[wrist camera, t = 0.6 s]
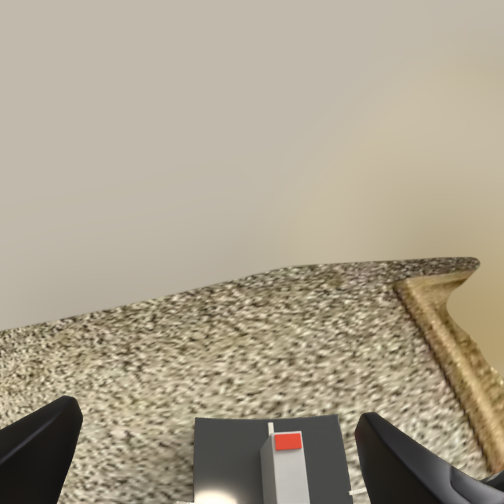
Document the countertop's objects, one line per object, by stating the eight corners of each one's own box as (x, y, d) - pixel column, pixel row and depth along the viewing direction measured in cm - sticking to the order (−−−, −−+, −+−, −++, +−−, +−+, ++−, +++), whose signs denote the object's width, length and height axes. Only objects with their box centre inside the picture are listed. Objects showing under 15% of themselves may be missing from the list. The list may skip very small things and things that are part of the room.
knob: (294, 556, 11) (317, 565, 8) (267, 559, 10) (283, 571, 8) (284, 447, 18) (302, 429, 15) (259, 448, 18) (272, 431, 15)
